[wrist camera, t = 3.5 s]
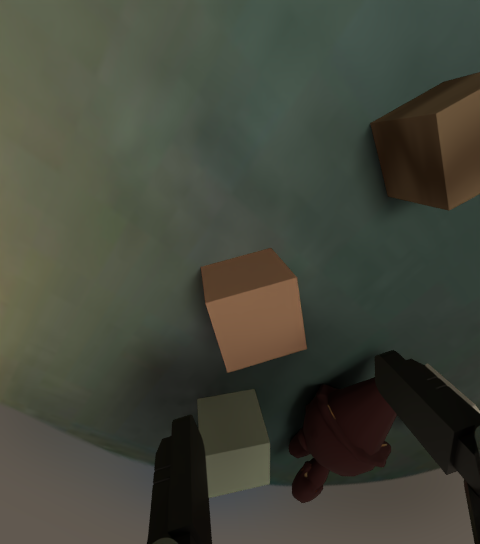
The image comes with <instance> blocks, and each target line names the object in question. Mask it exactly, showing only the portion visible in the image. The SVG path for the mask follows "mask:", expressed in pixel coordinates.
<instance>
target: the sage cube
mask: <svg viewBox="0 0 480 544" xmlns="http://www.w3.org/2000/svg"><path fill="white" fill-rule="evenodd" d="M197 407H198V428H199V432H200V434H201V436H202V439H203V443H204V448H205V455H206V469H207V483H208V496H209V498H211V497H216V496H220V495H224V494H229V493H233V492H237V491H242V490H246V489H250V488H255V487H259V486H263V485H268V484H270V441H269V437H268V434H267V430H266V427H265V423H264V420H263V416H262V413H261V410H260V406H259V403H258V399H257V396H256V392H255V389H251V390H245V391H239V392H234V393H228V394H222V395H217V396H211V397H205V398H200V399H197Z"/></svg>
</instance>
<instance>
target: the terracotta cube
mask: <svg viewBox="0 0 480 544" xmlns="http://www.w3.org/2000/svg"><path fill="white" fill-rule="evenodd" d="M201 273H202V280H203V288H204V296H205V303H206V307H207V310H208V313H209V316H210V319H211V322H212V325H213V328H214V332H215V335H216V338H217V341H218V344H219V347H220V350H221V354H222V357H223V360H224V363H225V366H226V369H227V372H228V373H229V372H232V371H236V370H239V369H242V368H245V367H249V366H252V365H255V364H259V363H262V362H265V361H269V360H272V359H275V358H278V357H282V356H285V355H288V354H292V353H295V352H298V351H302V350H305V349H307V346H306V339H305V332H304V325H303V317H302V310H301V303H300V296H299V289H298V282H297V277H296V276H295V275H294V274H293V272H292V271H291V270H290V269H289V268H288V267H287V266H286V264H285V263H284V262H283V261H282V260H281V259H280V258H279V256H278V255H277V254H276V253H275V252H274V251H273V250H272V248H269V249H265V250H261V251H258V252H254V253H250V254H247V255H243V256H239V257H236V258H232V259H228V260H225V261H221V262H217V263H214V264H210V265H206V266H203V267H201Z"/></svg>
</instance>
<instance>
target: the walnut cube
mask: <svg viewBox="0 0 480 544" xmlns="http://www.w3.org/2000/svg"><path fill="white" fill-rule="evenodd" d="M370 124H371V128H372V132H373V137H374V141H375V145H376V149H377V153H378V157H379V161H380V166H381V170H382V174H383V178H384V182H385V186H386V191H387V195H388V197H392V198H397V199H401V200H405V201H410V202H414V203H419V204H423V205H427V206H432V207H436V208H440V209H445V210H451V209H453V208H455V207H456V206H458V205H460V204H462V203H464V202H466V201H468V200H469V199H471V198H473V197H475V196H477V195H479V194H480V72H479V73H475V74H472V75H468V76H464V77H460V78H456V79H453V80H449V81H445V82H443V83H441V84H439V85H437V86H436V87H434V88H432V89H430V90H428V91H427V92H425V93H423V94H421V95H420V96H418V97H416V98H414V99H412V100H411V101H409V102H407V103H405V104H404V105H402V106H400V107H398V108H397V109H395V110H393V111H391V112H389V113H388V114H386V115H384V116H382V117H381V118H379V119H377V120H375V121H373V122H372V123H370Z"/></svg>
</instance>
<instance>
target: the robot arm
mask: <svg viewBox="0 0 480 544" xmlns="http://www.w3.org/2000/svg"><path fill="white" fill-rule="evenodd" d="M375 383H376V386H377V389H378V391H379V392H380V394H381V395H382V397H383V398H384V399H385V400H386V402H387V403H388V404H389V405H390V406H391V408H392V409H393V410H394V411H395V413H396V414H397V415H398V416H399V417H400V419H401V420H402V421H403V422H404V424H405V425H406V426H407V427H408V428H409V430H410V431H411V432H412V433H413V435H414V436H415V437H416V438H417V439H418V441H419V442H420V443H421V444H422V446H423V447H424V448H425V449H426V450H427V452H428V453H429V454H430V455H431V457H432V458H433V459H434V460H435V461H436V463H437V464H438V465H439V466H440V467H441V469H442V470H443V471H444V472H445V474H446V475H448V474H451V473H453V472H456V471H458V472H459V473H460V475H461V476H462V477H463V478H464V487H465V493H466V498H467V504H468V509H469V515H470V520H471V526H472V532H473V537H474V543H475V544H480V413H479V412H478V411H476V410H475V409H474V408H473V407H472V406H471V405H470V404H468V403H467V402H466V401H465V400H464V399H463V398H462V397H460V396H459V395H458V394H457V393H456V392H455V391H454V390H452V389H451V388H450V387H449V386H447V385H446V383H444V382H443V381H442V380H441V379H440V378H438V377H437V376H436V375H435V374H434V373H433V372H432V371H431V370H430V369H428V368H427V367H426V366H425V365H423V364H421V363H419V362H417V361H415V360H413V359H409V360H405V359H404V358H403V357H402V356H401V355H400V354H399V353H397V352H396V351H394V350H392V351H388V352H385V353H382V354H379V355H376V356H375ZM154 470H155V472H154V479H153V483H154V485H153V490H152V500H151V512H150V523H149V534H148V541H147V544H212V540H211V539H212V537H211V524H210V511H209V496H208V483H207V469H206V455H205V448H204V443H203V439H202V436H201V434H200V432H199V429H198V427H197V425H196V422H195V420H194V418H193V416H192V414H190V415H187V416H184V417H181V418H178V419H175V420H173V422H172V436H170V437H167V438H164V439H162V441H161V443H160V445H159V448H158V450H157V452H156V457H155V469H154Z"/></svg>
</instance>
